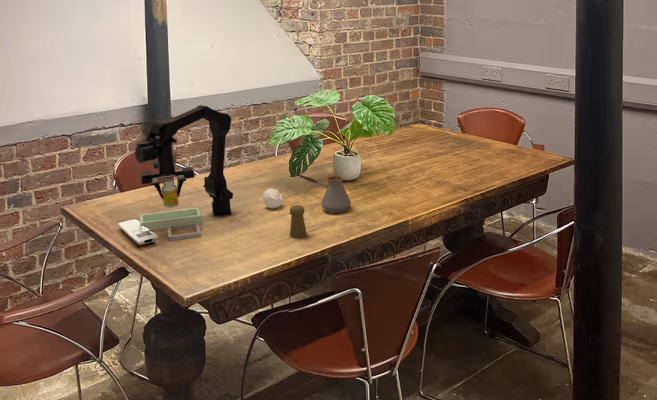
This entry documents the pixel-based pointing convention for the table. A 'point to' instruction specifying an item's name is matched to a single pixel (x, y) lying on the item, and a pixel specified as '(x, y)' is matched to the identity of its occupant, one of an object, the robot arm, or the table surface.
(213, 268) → the table surface
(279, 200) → the crumpled paper ball
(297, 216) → the brown pawn
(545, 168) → the table surface
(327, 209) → the coffee pot
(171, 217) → the trough
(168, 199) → the supplement bottle
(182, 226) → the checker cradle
